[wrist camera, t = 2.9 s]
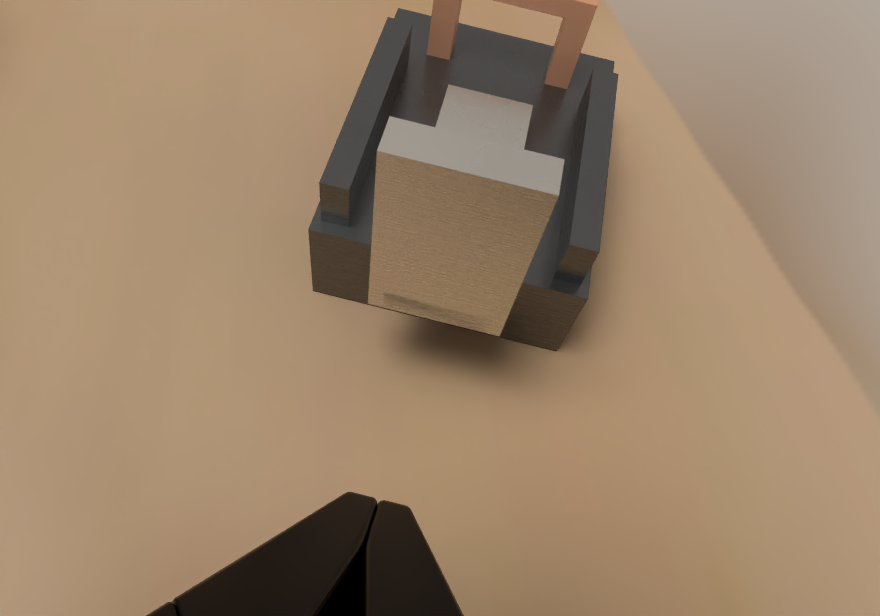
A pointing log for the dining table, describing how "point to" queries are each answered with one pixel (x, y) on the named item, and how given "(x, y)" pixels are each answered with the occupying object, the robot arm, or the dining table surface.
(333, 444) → the dining table surface
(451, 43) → the lug
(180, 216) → the dining table surface
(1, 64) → the dining table surface
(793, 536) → the dining table surface
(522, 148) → the tapered wooden notched block
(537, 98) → the grey walled tray
